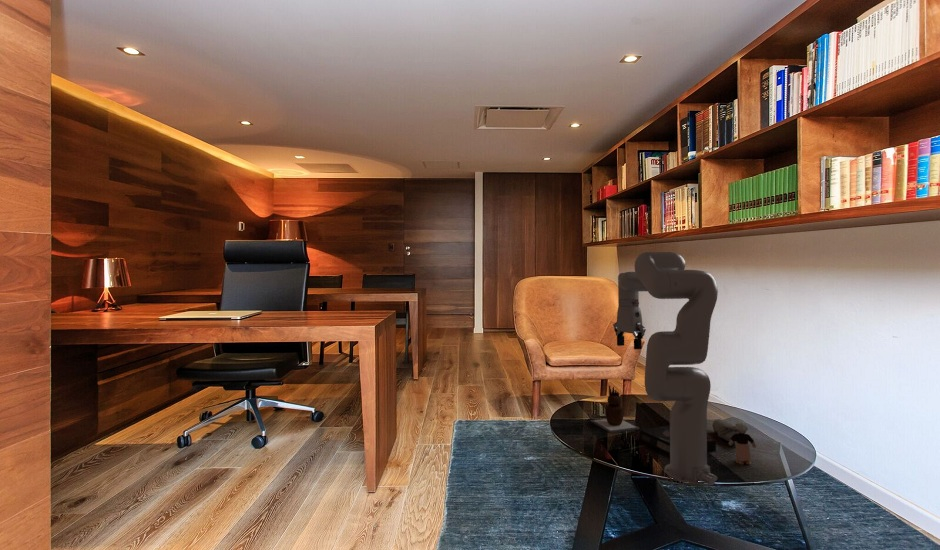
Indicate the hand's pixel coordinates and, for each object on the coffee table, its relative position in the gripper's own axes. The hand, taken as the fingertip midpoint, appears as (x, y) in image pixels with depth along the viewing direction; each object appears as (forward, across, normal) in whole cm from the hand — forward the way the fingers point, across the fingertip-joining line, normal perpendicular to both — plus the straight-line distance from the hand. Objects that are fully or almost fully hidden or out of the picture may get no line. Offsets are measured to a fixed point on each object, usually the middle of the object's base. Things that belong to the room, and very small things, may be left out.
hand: (628, 347), depth 163 cm
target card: (+30, +2, +6) cm, 31 cm away
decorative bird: (+31, -24, -21) cm, 45 cm away
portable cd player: (+31, -22, -1) cm, 38 cm away
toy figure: (+31, -39, -10) cm, 51 cm away
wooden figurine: (+30, +2, +6) cm, 31 cm away
